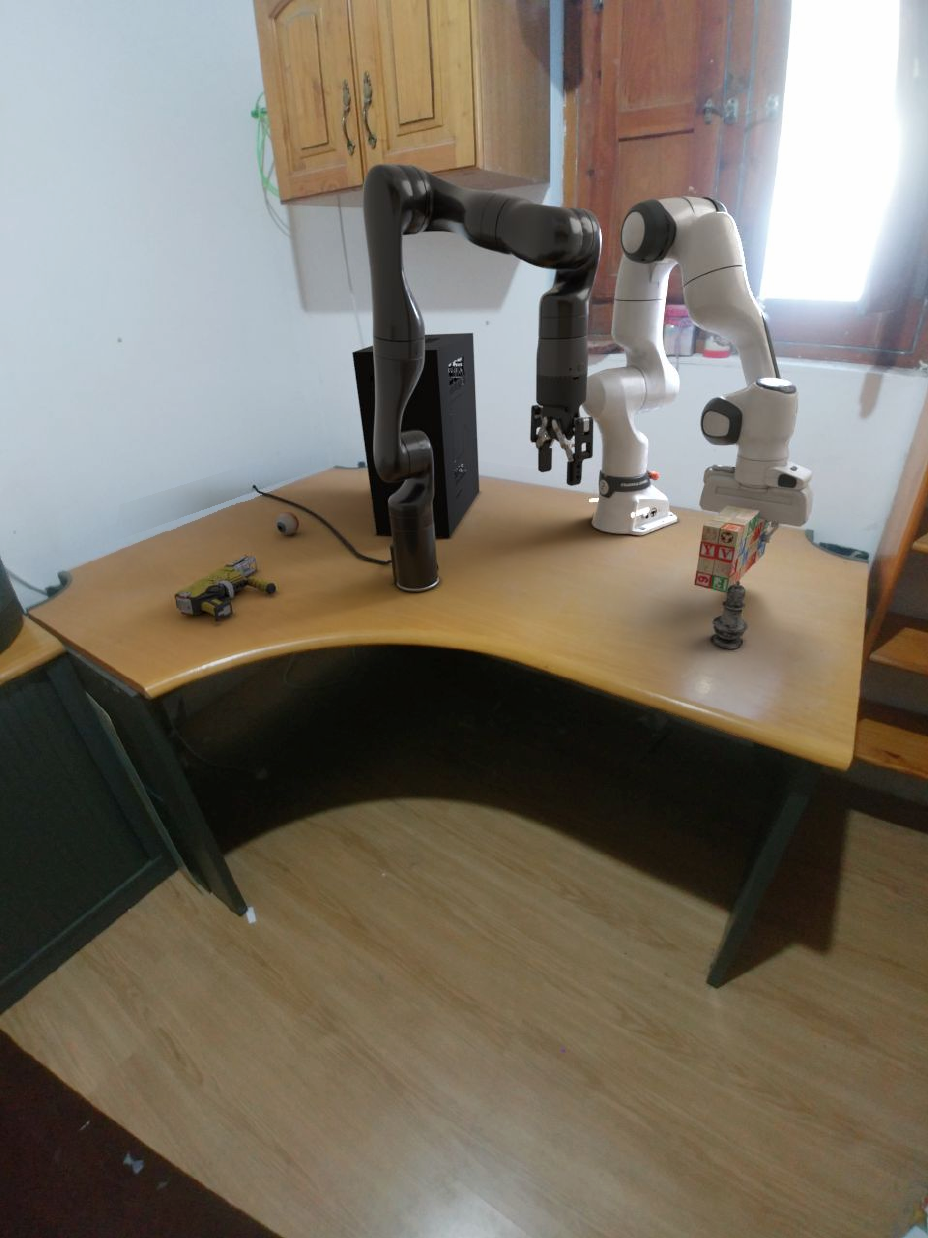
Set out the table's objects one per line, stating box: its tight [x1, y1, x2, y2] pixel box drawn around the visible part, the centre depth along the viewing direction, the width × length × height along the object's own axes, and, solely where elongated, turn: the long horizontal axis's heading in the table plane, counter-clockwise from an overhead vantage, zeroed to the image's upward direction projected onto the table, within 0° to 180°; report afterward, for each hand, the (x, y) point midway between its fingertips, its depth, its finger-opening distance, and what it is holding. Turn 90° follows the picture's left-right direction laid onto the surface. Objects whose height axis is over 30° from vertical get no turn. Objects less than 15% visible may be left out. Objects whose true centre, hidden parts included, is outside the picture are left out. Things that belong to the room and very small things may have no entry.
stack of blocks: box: [694, 506, 771, 594], centre depth 116 cm, size 21×6×12 cm, turn 140°
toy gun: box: [173, 554, 277, 622], centre depth 133 cm, size 5×24×15 cm
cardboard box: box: [351, 332, 480, 539], centre depth 164 cm, size 38×20×45 cm, turn 167°
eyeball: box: [275, 511, 300, 536], centre depth 163 cm, size 6×6×6 cm
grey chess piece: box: [710, 580, 749, 650], centre depth 105 cm, size 6×6×12 cm
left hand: (558, 477), depth 97 cm, fingers open, 8 cm apart
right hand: (747, 537), depth 122 cm, fingers closed on stack of blocks, 6 cm apart
